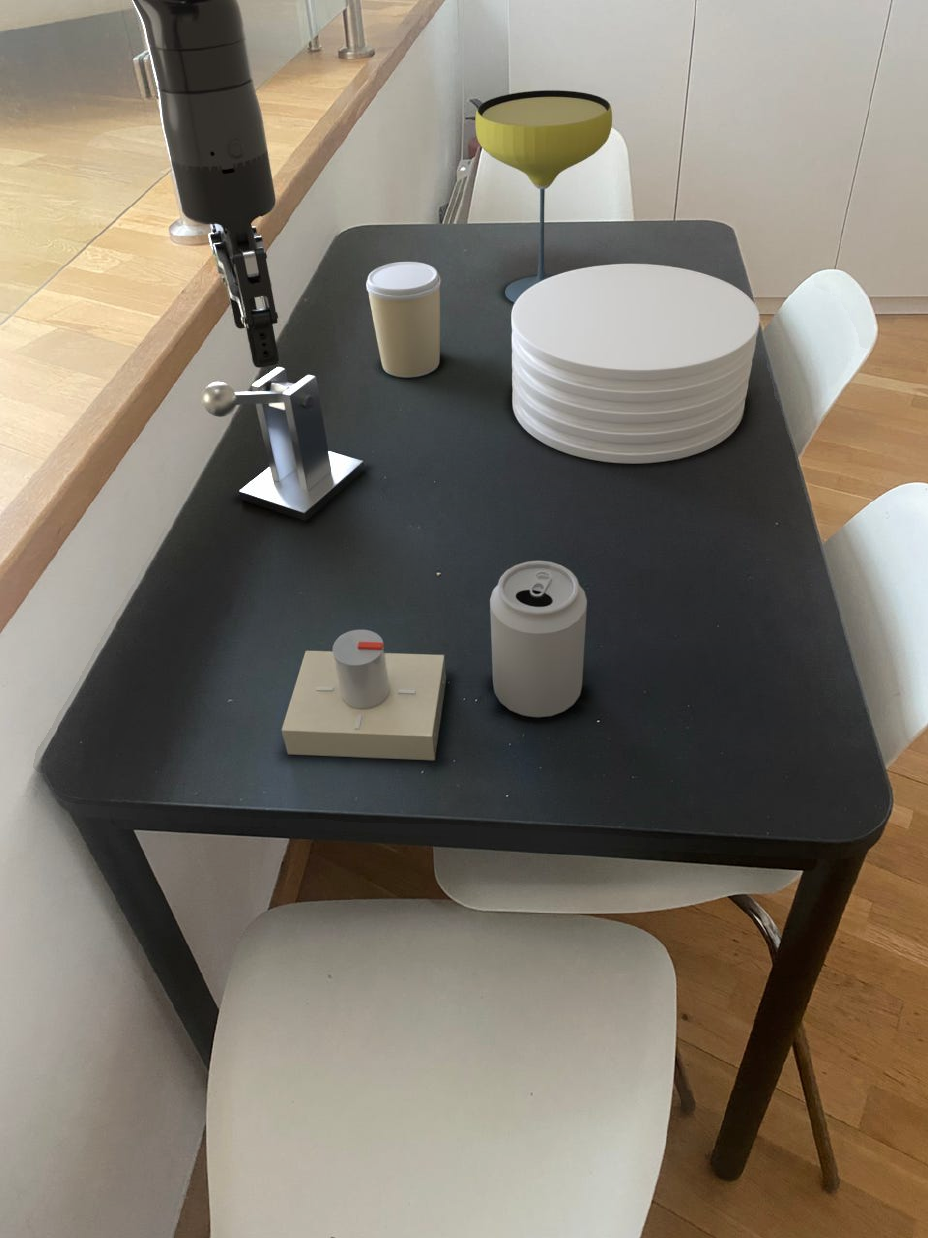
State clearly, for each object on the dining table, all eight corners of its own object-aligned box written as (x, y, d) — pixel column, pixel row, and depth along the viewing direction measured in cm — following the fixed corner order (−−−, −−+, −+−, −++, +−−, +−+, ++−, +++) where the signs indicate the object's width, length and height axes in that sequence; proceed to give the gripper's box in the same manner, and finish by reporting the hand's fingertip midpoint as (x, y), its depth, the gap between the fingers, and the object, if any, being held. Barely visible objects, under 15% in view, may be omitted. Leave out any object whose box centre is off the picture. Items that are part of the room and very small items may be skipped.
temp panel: (287, 754, 74) (280, 729, 72) (311, 674, 81) (305, 648, 79) (434, 760, 73) (432, 735, 71) (446, 679, 80) (444, 653, 78)
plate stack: (656, 493, 99) (668, 397, 91) (465, 410, 113) (461, 321, 105) (786, 391, 113) (805, 301, 105) (602, 329, 128) (607, 246, 120)
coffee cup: (449, 347, 126) (444, 260, 118) (441, 381, 119) (435, 290, 111) (382, 347, 127) (372, 260, 119) (370, 380, 120) (359, 290, 112)
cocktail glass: (457, 290, 140) (447, 107, 123) (548, 258, 147) (551, 82, 130) (533, 330, 129) (534, 135, 112) (627, 293, 136) (642, 106, 119)
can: (480, 710, 77) (474, 603, 69) (510, 651, 82) (509, 545, 74) (566, 734, 75) (571, 626, 66) (592, 671, 80) (599, 564, 71)
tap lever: (219, 420, 86) (221, 386, 84) (193, 413, 87) (195, 378, 86) (305, 414, 97) (308, 383, 95) (281, 407, 98) (284, 377, 97)
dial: (336, 708, 74) (327, 661, 70) (346, 672, 77) (337, 625, 73) (386, 710, 73) (378, 663, 70) (393, 673, 76) (386, 627, 73)
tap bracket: (306, 521, 98) (284, 415, 89) (241, 499, 101) (214, 395, 93) (364, 469, 104) (350, 366, 96) (302, 451, 108) (282, 349, 99)
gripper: (157, 132, 76) (202, 321, 86) (182, 180, 66) (228, 387, 76) (248, 120, 77) (280, 307, 88) (285, 165, 67) (316, 370, 78)
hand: (256, 344), depth 82 cm, fingers open, 8 cm apart
